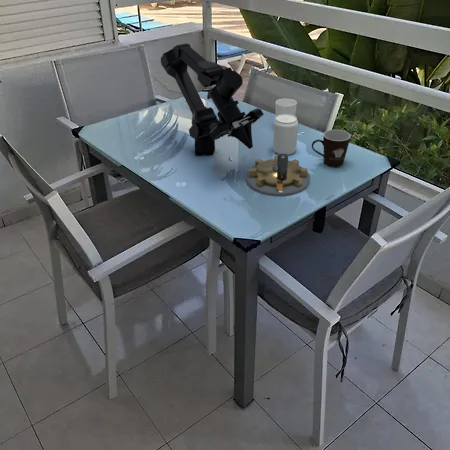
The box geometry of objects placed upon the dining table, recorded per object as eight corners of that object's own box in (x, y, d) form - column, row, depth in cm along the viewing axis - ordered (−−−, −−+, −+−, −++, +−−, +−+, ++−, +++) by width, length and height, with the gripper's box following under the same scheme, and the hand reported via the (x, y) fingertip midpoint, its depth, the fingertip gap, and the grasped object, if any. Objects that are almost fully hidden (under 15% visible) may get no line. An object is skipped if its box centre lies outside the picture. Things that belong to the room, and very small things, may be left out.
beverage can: (295, 156, 163) (297, 123, 156) (271, 155, 164) (272, 122, 158) (296, 146, 170) (299, 114, 163) (274, 144, 171) (275, 113, 164)
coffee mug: (348, 158, 161) (352, 131, 155) (344, 170, 154) (348, 142, 149) (313, 154, 164) (316, 127, 159) (309, 165, 158) (311, 137, 152)
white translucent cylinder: (272, 123, 186) (273, 98, 180) (292, 122, 187) (294, 97, 181) (276, 132, 180) (277, 106, 174) (296, 130, 180) (298, 105, 175)
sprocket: (271, 196, 140) (272, 167, 134) (238, 171, 152) (238, 143, 147) (318, 179, 147) (321, 151, 142) (283, 156, 160) (285, 130, 154)
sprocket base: (246, 196, 143) (247, 192, 142) (245, 164, 159) (245, 161, 158) (314, 195, 142) (314, 191, 142) (305, 163, 159) (305, 160, 158)
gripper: (233, 108, 158) (257, 149, 158) (191, 125, 147) (216, 168, 147) (251, 90, 149) (276, 134, 148) (207, 107, 138) (234, 154, 138)
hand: (251, 148), depth 146 cm, fingers closed
